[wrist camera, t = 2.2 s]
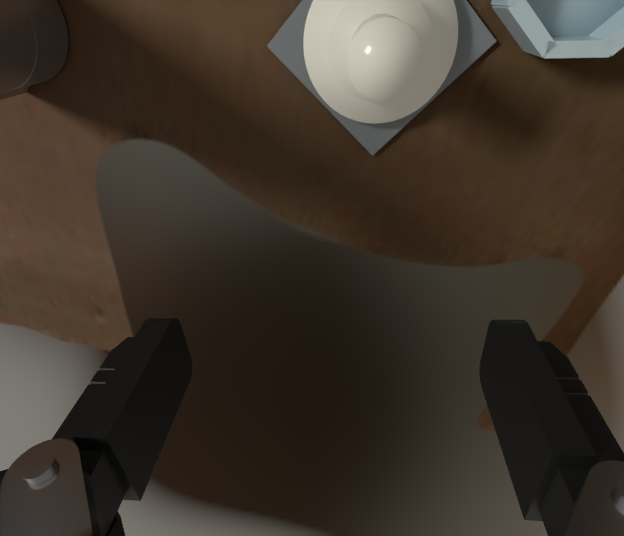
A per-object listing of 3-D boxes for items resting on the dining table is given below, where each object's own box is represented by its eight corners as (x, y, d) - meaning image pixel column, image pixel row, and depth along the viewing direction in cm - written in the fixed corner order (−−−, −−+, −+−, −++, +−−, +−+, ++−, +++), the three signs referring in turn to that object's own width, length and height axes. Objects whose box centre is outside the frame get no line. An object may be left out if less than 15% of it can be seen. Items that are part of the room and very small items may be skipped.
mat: (372, 154, 36) (372, 155, 36) (267, 45, 32) (266, 46, 32) (495, 40, 30) (496, 41, 30) (386, -107, 27) (386, -108, 26)
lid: (372, 147, 35) (375, 195, 27) (275, 45, 32) (243, 63, 23) (486, 41, 30) (534, 58, 22) (385, -94, 27) (395, -136, 18)
